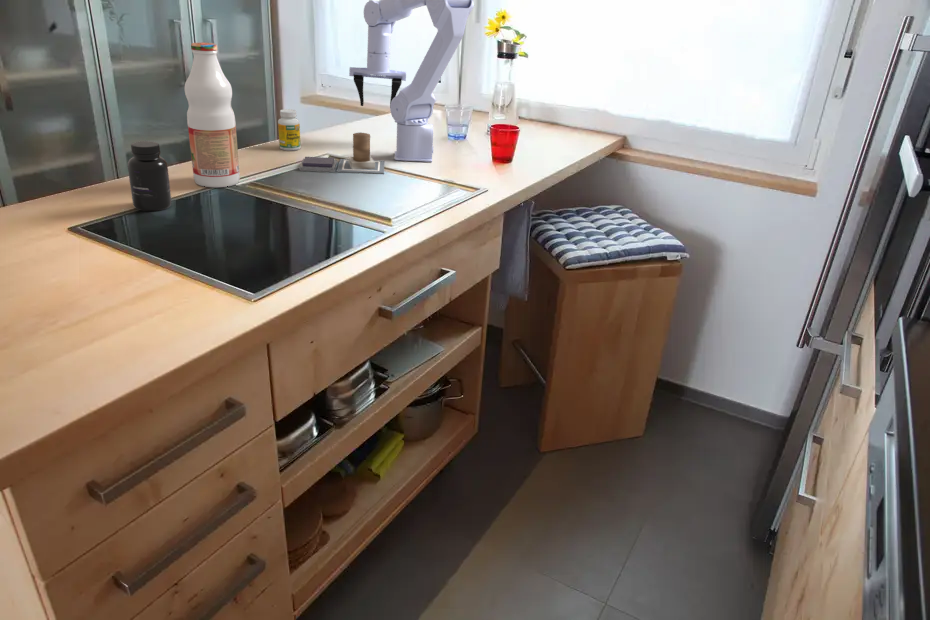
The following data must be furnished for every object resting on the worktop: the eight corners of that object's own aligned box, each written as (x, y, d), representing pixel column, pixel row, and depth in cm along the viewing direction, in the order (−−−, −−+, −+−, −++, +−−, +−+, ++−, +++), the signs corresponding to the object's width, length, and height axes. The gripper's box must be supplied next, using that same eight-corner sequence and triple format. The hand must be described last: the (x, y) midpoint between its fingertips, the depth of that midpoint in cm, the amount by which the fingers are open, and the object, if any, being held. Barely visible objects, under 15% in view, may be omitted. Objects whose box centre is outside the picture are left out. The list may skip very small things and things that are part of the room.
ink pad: (336, 164, 166) (336, 157, 166) (334, 172, 160) (334, 164, 159) (303, 162, 166) (303, 155, 165) (299, 170, 159) (299, 163, 159)
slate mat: (384, 162, 171) (384, 160, 171) (383, 174, 161) (383, 172, 161) (340, 160, 170) (340, 158, 170) (336, 172, 160) (336, 170, 160)
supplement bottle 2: (293, 145, 180) (292, 107, 176) (304, 149, 177) (303, 111, 173) (275, 147, 177) (273, 109, 173) (286, 151, 174) (284, 113, 169)
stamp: (370, 162, 169) (370, 132, 165) (375, 168, 164) (375, 137, 161) (348, 162, 167) (348, 132, 164) (352, 169, 162) (351, 137, 159)
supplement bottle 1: (135, 213, 127) (125, 149, 122) (132, 202, 132) (122, 140, 127) (174, 210, 130) (166, 147, 125) (170, 199, 135) (162, 138, 130)
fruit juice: (215, 191, 142) (200, 47, 129) (184, 182, 146) (167, 42, 133) (249, 181, 149) (239, 45, 136) (219, 173, 153) (207, 40, 141)
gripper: (406, 52, 179) (403, 105, 185) (350, 47, 177) (349, 100, 183) (407, 56, 173) (404, 111, 179) (349, 51, 171) (348, 106, 177)
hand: (376, 106), depth 181 cm, fingers open, 7 cm apart
